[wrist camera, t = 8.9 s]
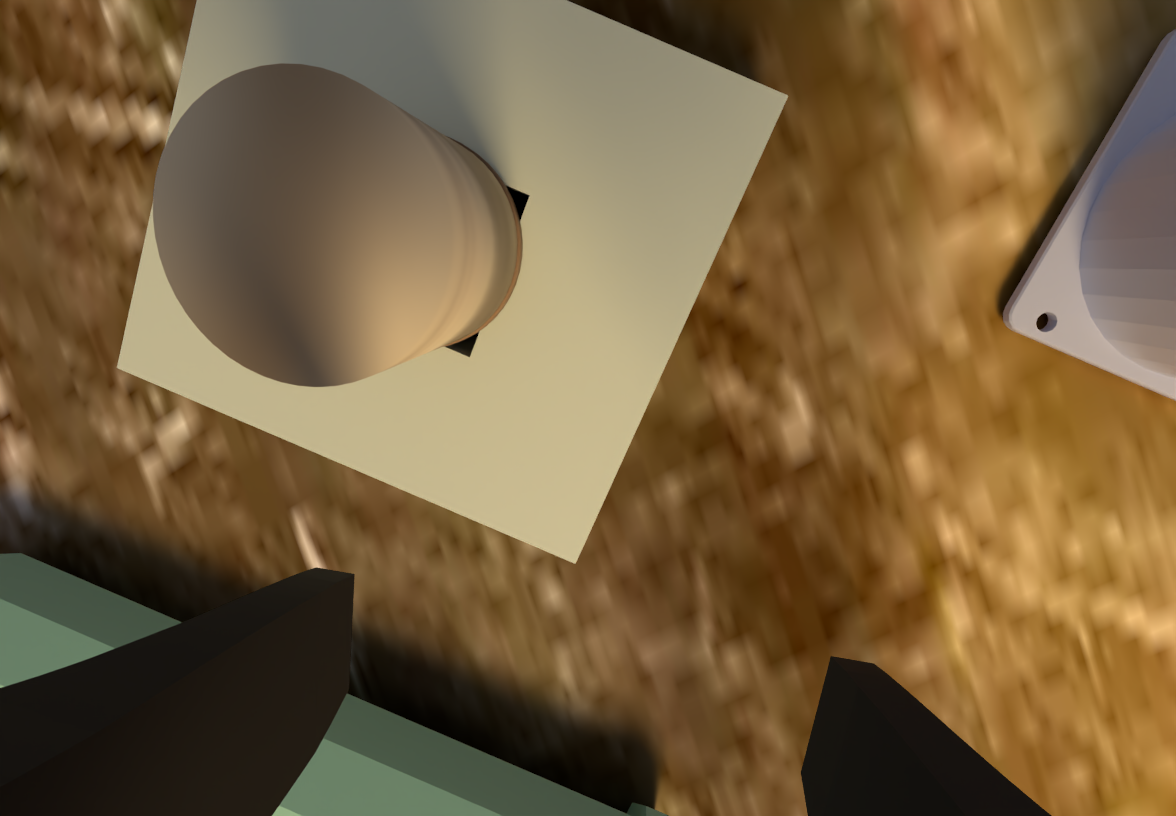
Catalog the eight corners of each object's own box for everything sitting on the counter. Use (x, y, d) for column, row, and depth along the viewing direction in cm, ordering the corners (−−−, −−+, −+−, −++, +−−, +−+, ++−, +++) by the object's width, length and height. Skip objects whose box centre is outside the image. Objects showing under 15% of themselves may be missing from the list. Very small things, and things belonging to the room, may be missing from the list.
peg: (565, 191, 18) (499, 136, 10) (501, 363, 19) (399, 435, 11) (391, 119, 18) (186, 6, 10) (339, 296, 19) (122, 321, 11)
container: (-225, 726, 17) (608, 1091, 17) (-109, 525, 18) (687, 869, 18) (-26, 668, 23) (596, 937, 23) (55, 518, 24) (656, 776, 24)
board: (768, 119, 17) (788, 95, 14) (584, 527, 20) (575, 563, 18) (289, -87, 17) (228, -146, 14) (181, 355, 20) (116, 367, 18)
